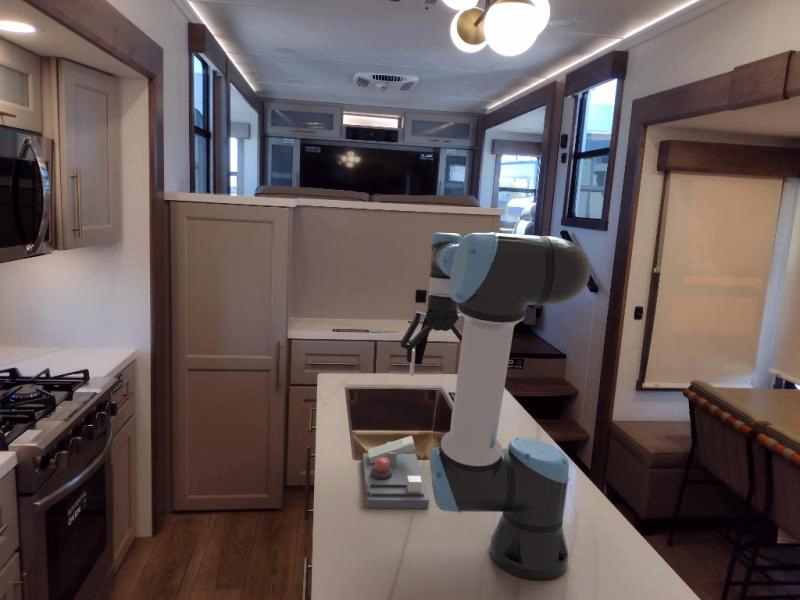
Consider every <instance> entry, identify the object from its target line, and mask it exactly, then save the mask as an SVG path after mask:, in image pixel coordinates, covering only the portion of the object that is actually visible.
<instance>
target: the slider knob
mask: <svg viewBox="0 0 800 600" xmlns="http://www.w3.org/2000/svg"><path fill="white" fill-rule="evenodd" d="M421 486H422V481H421V477H420V476H407V492H408V493H421Z"/></svg>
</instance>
